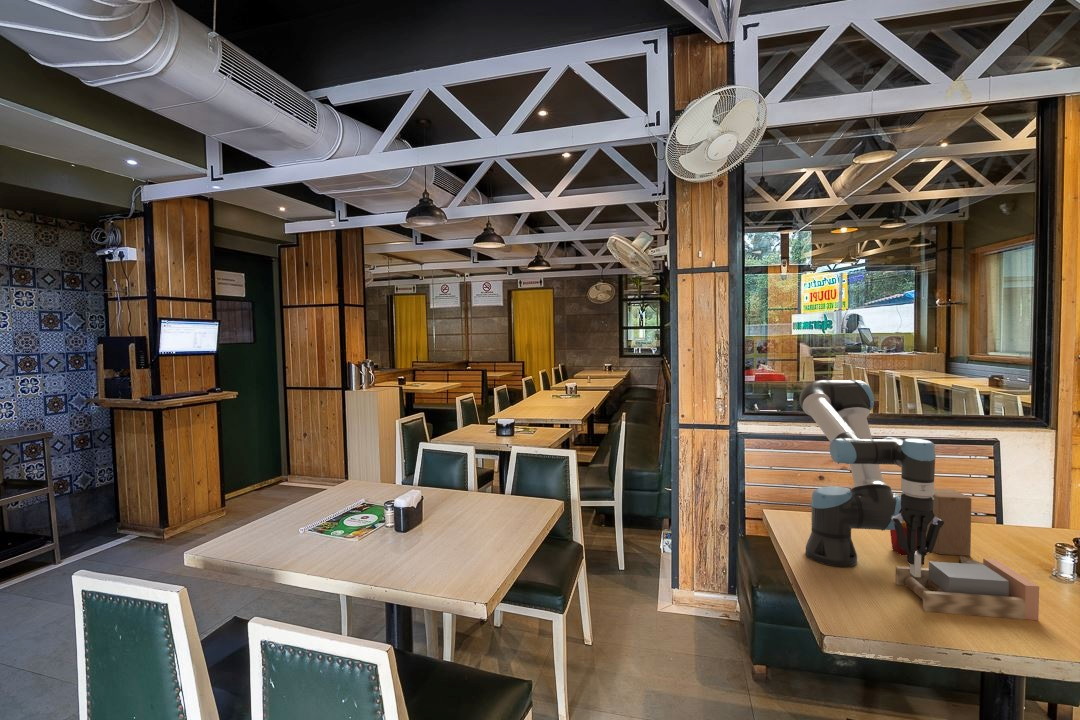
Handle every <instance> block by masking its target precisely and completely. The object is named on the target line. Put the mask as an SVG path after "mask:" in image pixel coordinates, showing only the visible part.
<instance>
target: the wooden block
mask: <svg viewBox="0 0 1080 720" xmlns="http://www.w3.org/2000/svg"><path fill="white" fill-rule="evenodd" d="M932 497H933V498H934V509H933V512H934V514H935V517H936V518H939V519H941V520H942V521H944V524H943V525H942V527H941V528H940V530H939V533H938V536H937V540H936V543H935V546H934V549H933V552H934V553H935V554H937V555H947V556H960V557H971V552H972V551H971V547H972V544H971V543H972V542H971V541H972V539H971V538H972V498H971V497H969V496H967V495H966V494H963V493H961V492H959V491H957V490H955V489H952V488H951V489H948V488H947V489H946V488H945V489H944V488H934V495H933V496H932ZM930 524H931V522H930V523H929V524H928V525H927V531H926V537H927V533H928V530H929V527H930Z"/></svg>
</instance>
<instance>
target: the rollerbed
mask: <svg viewBox="0 0 1080 720" xmlns="http://www.w3.org/2000/svg"><path fill="white" fill-rule="evenodd" d="M894 574H895V575H894V577H895V578H894V579H895V581H894V582H895V584H897V585H898V586H907V587H908V589H910V590H911V591H912V592H914V594H915V595H917V596H918V597H919V599H921V600H922V609H923V611H925V612H929V613H938V614H939V613H940V614H955V615H966V616H967V615H968V616H981V617H994V618H1004V619H1016V620H1019V619H1020V620H1026V619H1025V600H1024V599H1022V598H1019V597H1005V596H991V595H977V594H963V593H949V592H945V591H944V590H942V589H941V588H940V587H939V586H938V585H936V584H935V583H934V582H933V581H932V580H930V579H929V567H921V577H914V576H913V575H912V574H911V573H910V566H897V565H895V573H894ZM926 587H927V588H930V589H932V590H933V591H932V590H929V589H927V588H926Z"/></svg>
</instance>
